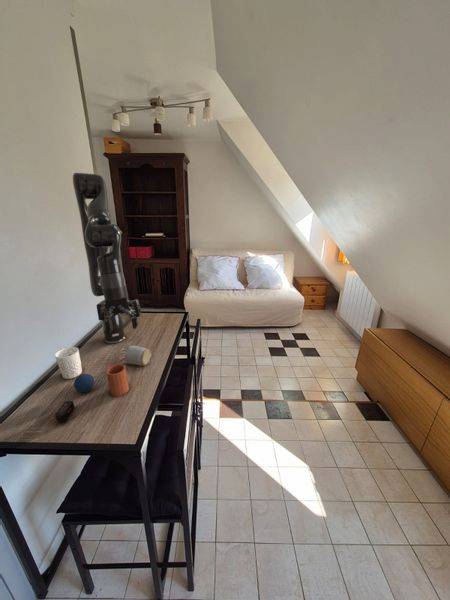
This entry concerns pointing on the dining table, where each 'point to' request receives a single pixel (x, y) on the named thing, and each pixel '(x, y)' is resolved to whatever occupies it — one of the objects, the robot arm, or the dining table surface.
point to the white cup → (69, 362)
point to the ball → (84, 383)
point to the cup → (117, 379)
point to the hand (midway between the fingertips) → (123, 329)
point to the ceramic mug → (137, 355)
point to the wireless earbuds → (65, 412)
